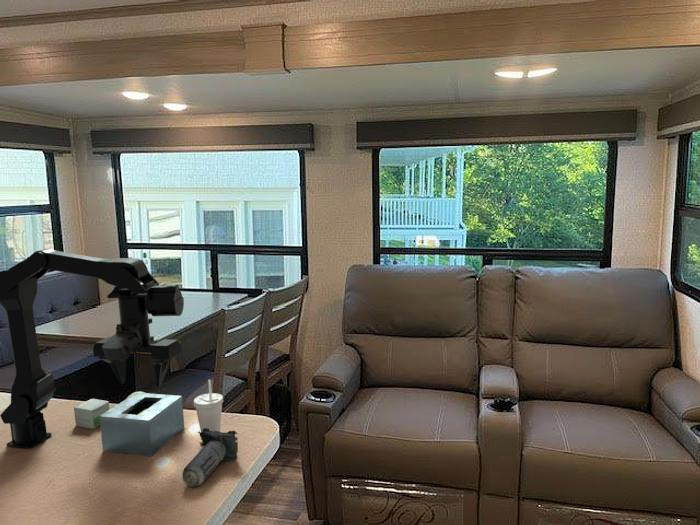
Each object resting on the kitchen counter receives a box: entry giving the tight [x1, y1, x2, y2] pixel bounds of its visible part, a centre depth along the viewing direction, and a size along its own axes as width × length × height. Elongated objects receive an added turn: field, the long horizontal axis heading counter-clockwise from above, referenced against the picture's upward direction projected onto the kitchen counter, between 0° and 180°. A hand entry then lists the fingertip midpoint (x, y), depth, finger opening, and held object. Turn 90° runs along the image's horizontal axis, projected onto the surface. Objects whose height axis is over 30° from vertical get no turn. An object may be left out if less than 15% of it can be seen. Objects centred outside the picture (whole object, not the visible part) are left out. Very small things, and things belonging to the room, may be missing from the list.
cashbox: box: [99, 392, 185, 457], centre depth 119 cm, size 12×13×8 cm
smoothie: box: [193, 379, 224, 432], centre depth 118 cm, size 6×6×14 cm
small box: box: [73, 398, 110, 430], centre depth 129 cm, size 6×6×5 cm
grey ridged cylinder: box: [182, 428, 239, 488], centre depth 105 cm, size 9×8×12 cm
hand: (140, 385), depth 118 cm, fingers open, 9 cm apart
